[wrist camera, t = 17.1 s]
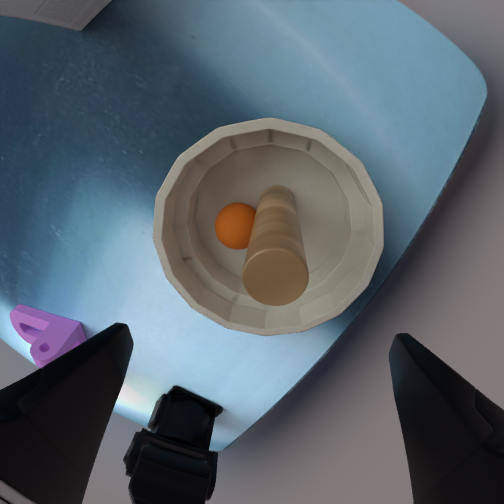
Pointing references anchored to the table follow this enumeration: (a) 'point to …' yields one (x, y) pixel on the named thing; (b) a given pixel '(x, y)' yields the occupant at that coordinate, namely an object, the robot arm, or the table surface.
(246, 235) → the ball
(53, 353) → the bracket
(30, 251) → the table surface
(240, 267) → the bowl
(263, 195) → the stirring stick
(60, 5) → the small box
